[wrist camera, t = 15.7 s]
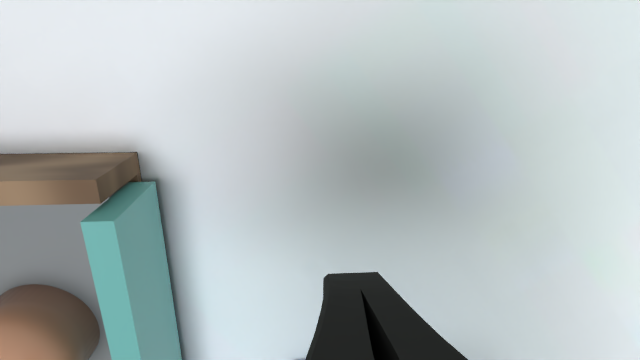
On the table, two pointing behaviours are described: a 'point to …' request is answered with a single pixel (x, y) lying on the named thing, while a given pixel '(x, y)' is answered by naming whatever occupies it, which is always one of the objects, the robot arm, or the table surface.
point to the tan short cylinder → (46, 325)
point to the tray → (100, 266)
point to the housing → (64, 177)
